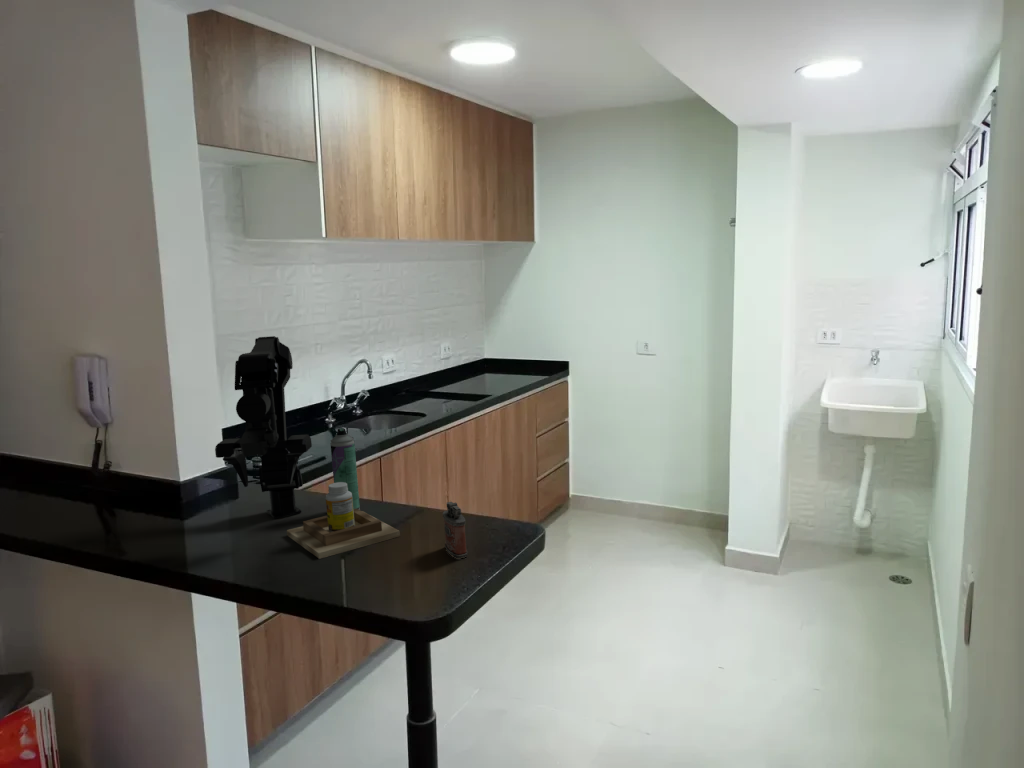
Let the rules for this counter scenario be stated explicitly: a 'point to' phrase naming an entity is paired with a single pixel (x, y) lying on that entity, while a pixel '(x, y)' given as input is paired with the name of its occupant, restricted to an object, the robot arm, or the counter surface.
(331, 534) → the holder board
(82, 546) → the counter surface
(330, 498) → the supplement bottle
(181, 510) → the counter surface
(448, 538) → the lighter
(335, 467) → the spray can
